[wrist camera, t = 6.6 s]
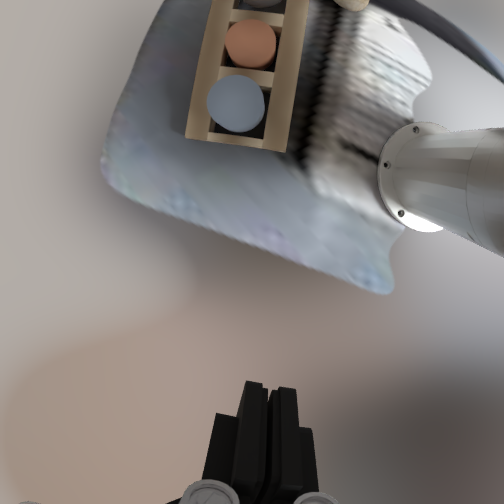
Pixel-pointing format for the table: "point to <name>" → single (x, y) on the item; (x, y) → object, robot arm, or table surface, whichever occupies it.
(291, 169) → the table surface
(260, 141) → the birch board
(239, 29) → the terracotta button
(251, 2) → the charcoal button
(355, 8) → the stone
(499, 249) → the robot arm
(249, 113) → the slate button
